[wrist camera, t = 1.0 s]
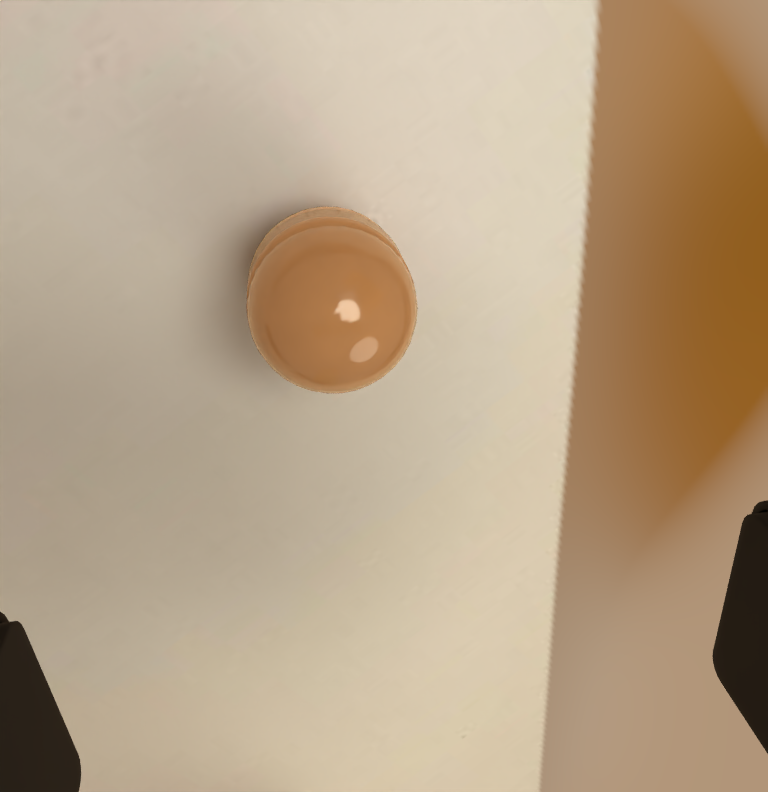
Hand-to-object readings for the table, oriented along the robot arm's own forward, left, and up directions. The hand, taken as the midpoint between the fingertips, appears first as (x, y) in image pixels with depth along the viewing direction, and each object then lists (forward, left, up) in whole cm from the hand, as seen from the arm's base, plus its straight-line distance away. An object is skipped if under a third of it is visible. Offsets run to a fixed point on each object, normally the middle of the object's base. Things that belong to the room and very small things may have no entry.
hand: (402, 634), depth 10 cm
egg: (0, 0, -14) cm, 14 cm away
